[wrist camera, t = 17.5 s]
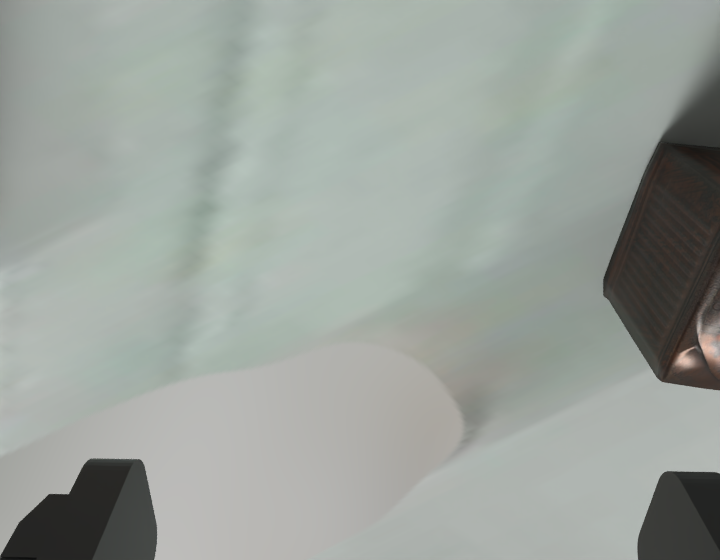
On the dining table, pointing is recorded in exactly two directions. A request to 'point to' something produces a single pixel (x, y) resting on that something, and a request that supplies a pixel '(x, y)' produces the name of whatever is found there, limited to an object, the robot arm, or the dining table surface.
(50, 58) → the dining table surface
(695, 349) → the manual coffee grinder
